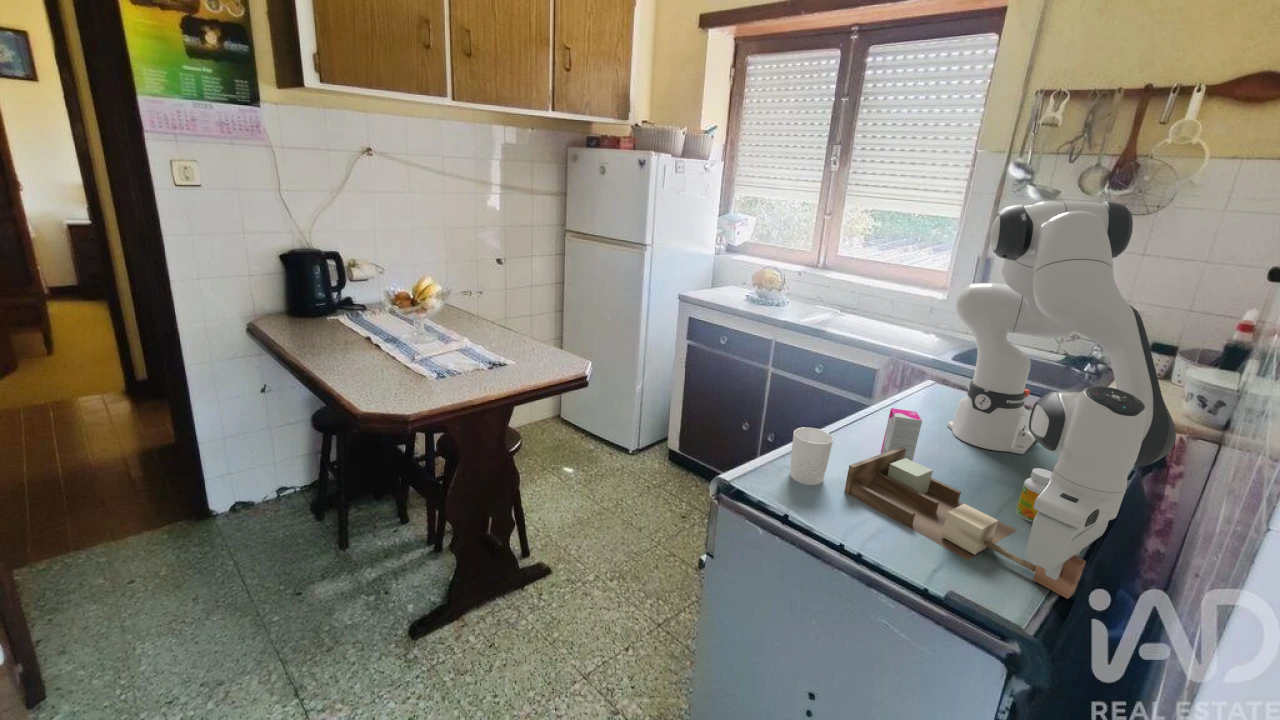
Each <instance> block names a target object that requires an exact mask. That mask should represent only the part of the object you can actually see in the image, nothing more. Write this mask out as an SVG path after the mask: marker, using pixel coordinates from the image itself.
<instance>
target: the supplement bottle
mask: <svg viewBox="0 0 1280 720" xmlns="http://www.w3.org/2000/svg"><path fill="white" fill-rule="evenodd" d="M1031 471H1032V472H1031V474H1030V477H1029V478H1027V479H1025V480H1024V483H1023V485H1022V489H1021V493H1020V496H1019V500H1018V503H1017V505H1016V509H1015V512H1016V515H1017V516H1019V517H1020V518H1022V519H1023V520H1026V521H1029V522H1031V523H1033V521H1034V518H1035V516H1036V514H1037V513H1038V512H1039V511H1037V510H1035V509H1034V504H1035V501H1036V498H1037V497H1038V496H1039V495H1040V493H1041V492H1042V491H1043V490H1044V489H1045V488H1046V486H1047V485H1048V482H1049V479H1050V478H1051V476H1052V472H1053V471H1050V470H1048V469H1045V468H1038V467H1036V468H1032V470H1031Z"/></svg>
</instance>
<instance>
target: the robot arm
mask: <svg viewBox="0 0 1280 720" xmlns="http://www.w3.org/2000/svg"><path fill="white" fill-rule="evenodd" d="M1133 219H1134V218H1133V214H1132V212H1131V211H1130V210H1129V207H1127V206H1126V205H1125V204H1122V203H1121V204H1120V203H1117V202H1116V203H1115V202H1112V201H1103V202H1101V203H1100V202H1093V201H1092V202H1089V201H1073V200H1072V201H1056V200H1044V201H1040V202H1036V203H1034V204H1027V205H1024V204H1022V203H1021V204H1014V205H1010V206H1006V207H1004V208H1003V209H1001V210H1000V211H999V212H998V213H997V214H996V217H995V219H994V221H993V222H992V224H991V226H990V231H989V239H990V244H991V248H992V250H993V251H992V252H993V253H994V254H995V255H996V256H997V257H998V258H1000V259H1003V260H1004V261H1003V263H1002V268H1001V272H1002V273H1001V274H1002V277H1003V280H1004V282H1005V283H1006V284H1004V283H996V282H981V283H980V282H978V283H970V284H969V285H967V286H966V287H965V288H964V289H963V290H961V292H960V293H959V295H958V298H957V300H956V305H955V306H956V313H957V315H958V317H959V319H960V321H961V322H962V323H964V325H965V326H967V328H968V329H969V331H971V333H972V335H973V338H975V344H976V348H977V357H976V362H975V363H976V364H975V369H974V374H973V378H972V379H971V381H970V382H969V384H968V388H967V396H965V397H963V398H961V399H960V401H959V404H958V406H957V410H956V412H955V416H954V419H953V420H950V421H948V422H947V424H946V426H947V427H948V428H949V429H950V430H951V432H952V434H953V435H954V436H955V437H956V438H957V439H959V440H961V441H963V442H965V443H967V444H969V445H972V446H975V447H978V448H982V449H985V450H989V451H990V450H992V451H996V452H997V451H999V452H1007V453H1014V454H1019V455H1024V454H1025V453H1026V452H1027V451H1028V450H1029V448H1030V447H1031V446H1033V444H1034V443H1035V442H1036V441H1037V442H1038V443H1039V444H1040V445H1041V446H1042V447H1043V448H1044V449H1047V451H1051V452H1055V453H1056V454H1057V456H1058V460H1057V462H1056V464H1055V465H1054V467H1053V469H1052V471H1051V472H1052V476H1051V478H1050V479H1049V482H1048V485H1047V486H1046V488H1045V489H1044V490H1043V491H1042V492H1041V493H1040V495H1039V496H1038V497H1037V498H1036V501H1035V504H1034V509H1035V510H1037V511H1039V512H1038V513H1037V514H1036V516H1035V518H1034V521H1033V522H1032V524H1031V528H1030V533H1029V536H1028V541H1027V546H1026V557H1027V559H1028V562H1030V563H1032V564H1033V565H1035V566H1040V567H1042V568H1044V569H1046V570H1045V574H1046V576H1048V577H1050V578H1052V579H1054V580H1057V579H1058V578H1060V577H1061V576H1062V573H1063V570H1064V568H1062V567H1063V563H1064V562H1066V561H1067V560H1069V559H1070V558H1071V557H1073V556H1074V555H1075V556H1077V557H1079V555H1080V553H1081V552H1082V550H1083V549H1085V548H1087V547H1088V546H1089V545H1091V544H1093V542H1095V541H1096V540H1097V539H1099V538H1100V537H1101V536H1103V534H1105V532H1106V530H1107V528H1108V524H1109V523H1110V522H1109V521H1111V520H1114V519H1116V518H1117V516H1118V513H1119V511H1120V509H1121V505H1122V502H1123V498H1124V496H1125V494H1126V490H1127V487H1128V474H1129V472H1130V470H1131V468H1132V467H1133V466H1137V467H1147V466H1148V465H1151V464H1153V463H1156V462H1158V461H1159V460H1161V459H1162V458H1164V457H1166V456H1167V454H1169V453H1170V452H1171V451H1172V449H1173V448H1174V446H1175V442H1176V439H1177V438H1176V435H1177V433H1176V432H1177V431H1176V425H1175V423H1174V420H1173V418H1172V415H1171V413H1170V411H1169V408H1168V407H1167V405H1166V403H1165V400H1164V397H1163V394H1162V390H1161V386H1160V383H1159V378H1158V375H1157V370H1156V367H1155V363H1154V357H1153V355H1152V350H1151V346H1150V342H1149V339H1148V335H1147V332H1146V328H1145V325H1144V322H1143V320H1142V319H1143V318H1142V317H1141V314H1140V313H1139V311H1138V309H1136V308H1135V307H1134V306H1132V305H1130V304H1129V302H1127V300H1126V299H1125V298H1124V296H1123V295H1122V293H1121V291H1120V290H1119V287H1118V286H1117V282H1116V281H1115V276H1114V275H1115V274H1114V264H1113V261H1114V260H1113V259H1114V258H1117V257H1119V256H1120V255H1121V254H1122V253H1123V252H1124V251H1126V250H1127V248H1128V246H1129V243H1130V241H1131V239H1132V236H1133V233H1134V221H1133ZM1076 333H1078V334H1080V335H1083V336H1084V337H1086V338H1088V339H1089V340H1091V341H1093V342H1094V343H1096V344H1097V345H1099V347H1101V348H1102V349H1103V350H1104V351H1105V352H1106V354H1107V355H1108V358H1109V359H1110V364H1111V369H1112V374H1113V379H1114V382H1115V386H1116V387H1115V388H1114V387H1111V386H1109V387H1108V386H1100V385H1099V386H1098V385H1097V386H1094V385H1093V386H1089V387H1086V388H1084V389H1083V390H1082V391H1079V392H1077V391H1075V392H1074V391H1072V392H1070V391H1050V392H1047V393H1045V394H1044V395H1043V396H1040V398H1039V399H1038V400H1037V401H1036V402H1034V404H1033V407H1032V408H1031V412H1030V413H1029V412H1028V411H1027V409H1026V408H1025V401H1026V398H1028V397H1029V396H1030V394H1031V393H1030V392H1031V390H1030V389H1027V388H1026V385H1027V381H1028V378H1029V374H1030V370H1031V367H1032V366H1031V365H1032V363H1031V359H1030V357H1029V355H1027V354H1026V352H1025V351H1023V350H1021V349H1020V348H1018V347H1017V346H1015V345H1013V343H1011V342H1010V341H1009V339H1008V337H1007V336H1008V334H1019V335H1026V336H1030V337H1038V338H1044V339H1045V338H1046V339H1050V338H1051V339H1052V338H1053V339H1063V338H1069V337H1071V336H1072V335H1074V334H1076Z"/></svg>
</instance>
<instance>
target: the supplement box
mask: <svg viewBox="0 0 1280 720" xmlns="http://www.w3.org/2000/svg"><path fill="white" fill-rule="evenodd" d="M888 414H889V415H888V420H887V425H886V428H885V433H884V437H883V442H882V446H881V449H880V454H883V453H886V452H888V451H891V450H894V449H897V448H900V447H904V448H906V452H905V456H904V458H907V459H909V460H911V461H914V458H915V453H916V449H917V444H918V440H919V436H920V432H921V428H922V424H923V420H922V418H921V416H920V415H919V414H918V413H917V411H914V410H907V409H901V408H900V409H898V408H894V407H893V408H892V407H891V408H890V411H889V413H888Z"/></svg>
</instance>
